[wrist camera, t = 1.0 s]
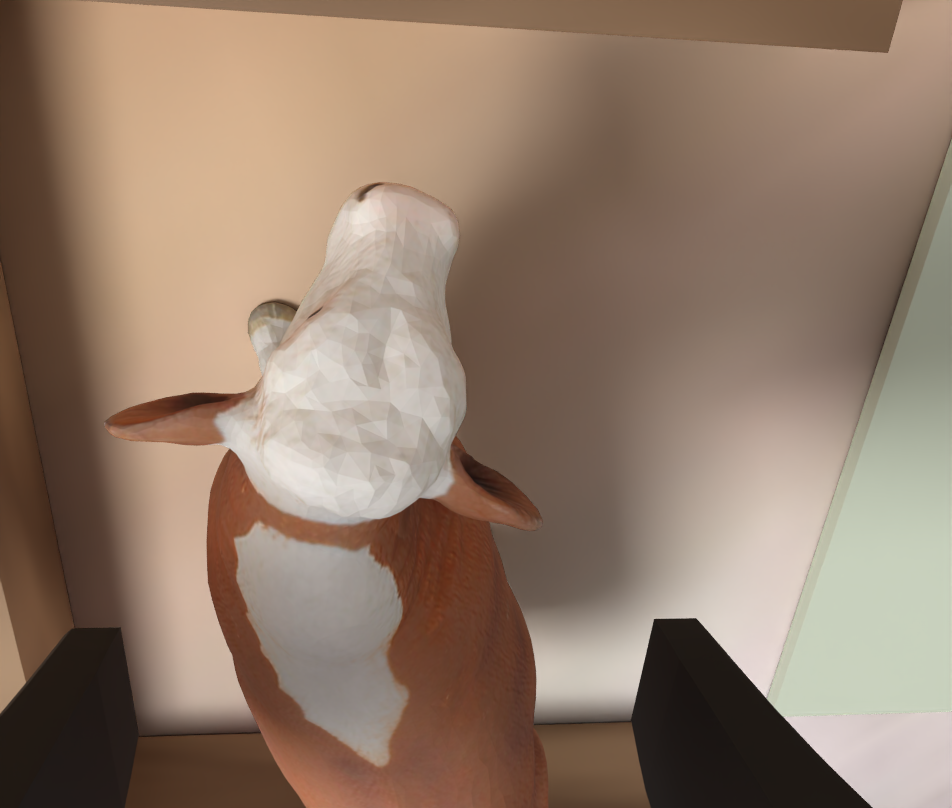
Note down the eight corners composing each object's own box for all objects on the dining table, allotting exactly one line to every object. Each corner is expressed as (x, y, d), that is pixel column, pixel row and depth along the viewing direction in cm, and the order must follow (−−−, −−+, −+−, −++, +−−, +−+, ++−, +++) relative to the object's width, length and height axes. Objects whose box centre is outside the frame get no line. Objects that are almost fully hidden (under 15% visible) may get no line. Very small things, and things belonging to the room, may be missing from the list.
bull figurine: (458, 68, 14) (542, 252, 7) (519, 671, 21) (592, 1067, 14) (180, 101, 14) (-16, 322, 7) (332, 697, 21) (311, 1113, 14)
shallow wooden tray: (638, 749, 23) (665, 839, 21) (57, 768, 21) (21, 869, 19) (826, -42, 14) (910, -30, 12) (-153, -119, 12) (-268, -120, 10)
